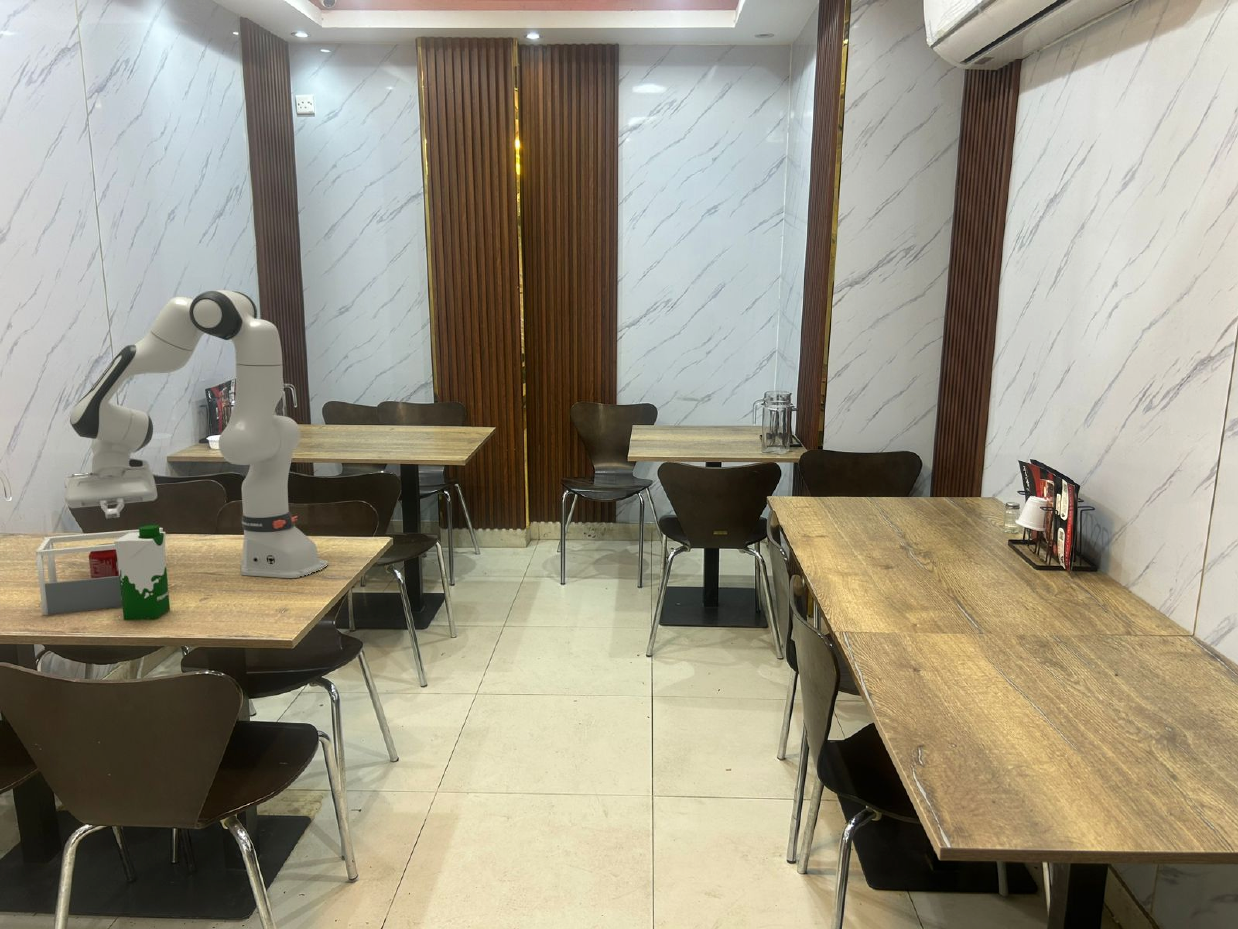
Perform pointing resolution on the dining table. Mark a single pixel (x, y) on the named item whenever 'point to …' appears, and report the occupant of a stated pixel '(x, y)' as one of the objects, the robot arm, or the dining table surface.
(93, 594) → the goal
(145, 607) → the milk carton
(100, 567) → the soda can
